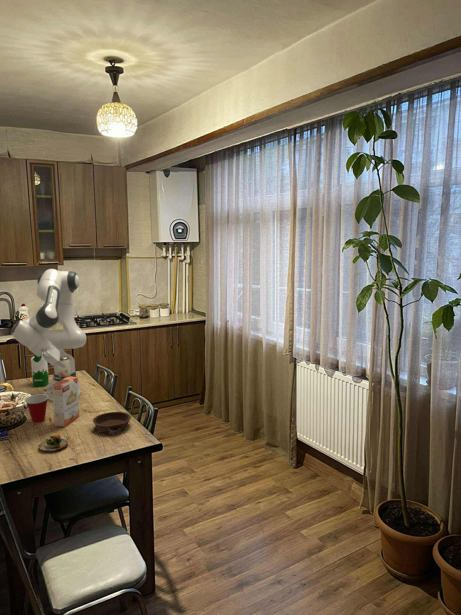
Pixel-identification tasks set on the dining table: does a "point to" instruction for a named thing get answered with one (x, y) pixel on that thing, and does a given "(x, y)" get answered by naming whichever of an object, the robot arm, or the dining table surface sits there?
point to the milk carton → (39, 371)
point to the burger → (54, 443)
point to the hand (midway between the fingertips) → (65, 365)
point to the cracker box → (65, 401)
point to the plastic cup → (37, 407)
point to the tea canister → (65, 371)
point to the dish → (112, 422)
